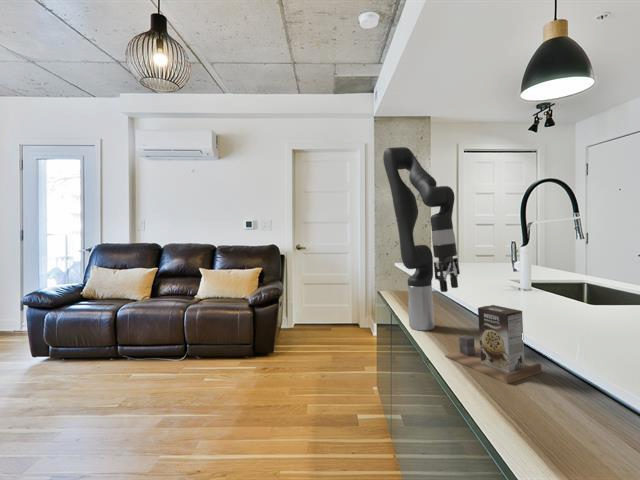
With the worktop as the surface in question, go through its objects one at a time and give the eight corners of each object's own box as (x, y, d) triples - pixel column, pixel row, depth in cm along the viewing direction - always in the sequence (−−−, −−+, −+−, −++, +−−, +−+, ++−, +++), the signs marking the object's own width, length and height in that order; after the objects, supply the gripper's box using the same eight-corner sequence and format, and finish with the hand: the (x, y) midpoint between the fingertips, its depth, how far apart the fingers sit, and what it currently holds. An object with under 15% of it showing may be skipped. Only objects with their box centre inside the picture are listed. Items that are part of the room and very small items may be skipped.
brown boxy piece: (479, 364, 92) (476, 307, 92) (495, 359, 95) (492, 304, 95) (510, 376, 84) (506, 313, 84) (526, 370, 86) (522, 309, 86)
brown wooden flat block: (445, 356, 100) (444, 339, 100) (476, 348, 105) (475, 331, 105) (507, 383, 81) (505, 361, 81) (542, 372, 86) (540, 351, 86)
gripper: (442, 243, 121) (448, 286, 121) (424, 245, 111) (429, 293, 111) (462, 241, 116) (468, 286, 116) (445, 243, 106) (451, 293, 106)
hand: (449, 289), depth 113 cm, fingers open, 8 cm apart
